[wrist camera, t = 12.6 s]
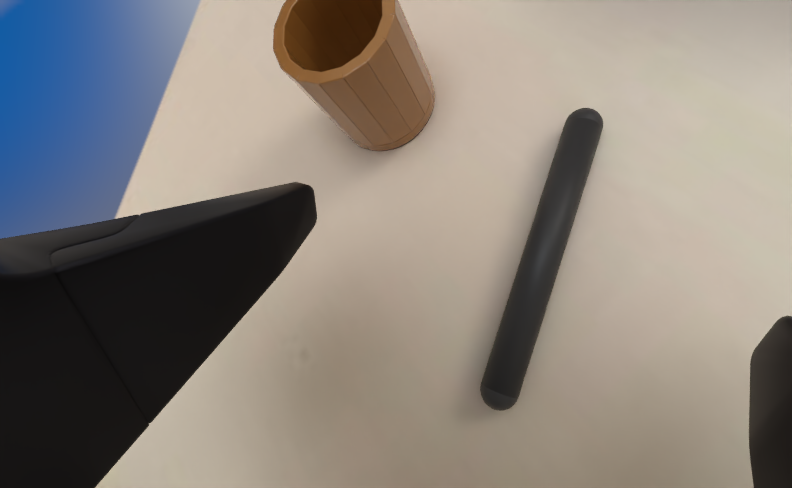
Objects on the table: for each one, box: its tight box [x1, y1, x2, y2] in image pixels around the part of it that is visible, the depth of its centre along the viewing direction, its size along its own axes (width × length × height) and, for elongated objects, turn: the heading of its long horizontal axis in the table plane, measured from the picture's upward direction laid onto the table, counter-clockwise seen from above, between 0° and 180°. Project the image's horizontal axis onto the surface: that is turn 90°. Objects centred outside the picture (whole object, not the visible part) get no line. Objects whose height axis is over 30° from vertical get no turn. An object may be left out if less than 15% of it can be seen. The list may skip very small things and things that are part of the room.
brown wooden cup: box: [273, 0, 435, 151], centre depth 16 cm, size 4×4×6 cm
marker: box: [480, 108, 603, 410], centre depth 15 cm, size 6×1×10 cm
